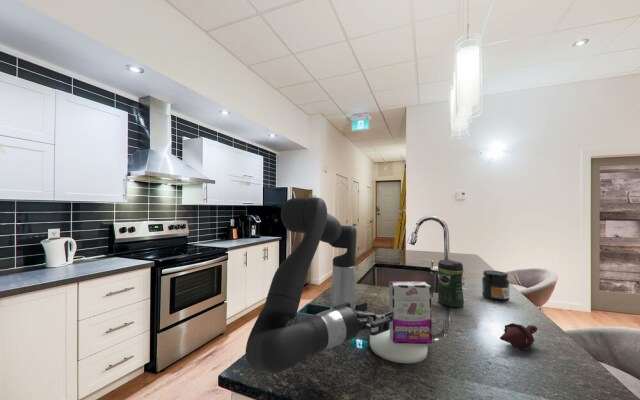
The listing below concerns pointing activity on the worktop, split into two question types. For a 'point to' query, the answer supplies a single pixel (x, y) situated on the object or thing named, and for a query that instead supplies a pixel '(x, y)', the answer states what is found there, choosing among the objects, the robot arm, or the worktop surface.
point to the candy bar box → (410, 312)
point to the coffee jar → (450, 283)
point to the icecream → (519, 335)
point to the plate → (397, 349)
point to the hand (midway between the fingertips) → (378, 310)
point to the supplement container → (495, 286)
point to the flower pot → (311, 310)
